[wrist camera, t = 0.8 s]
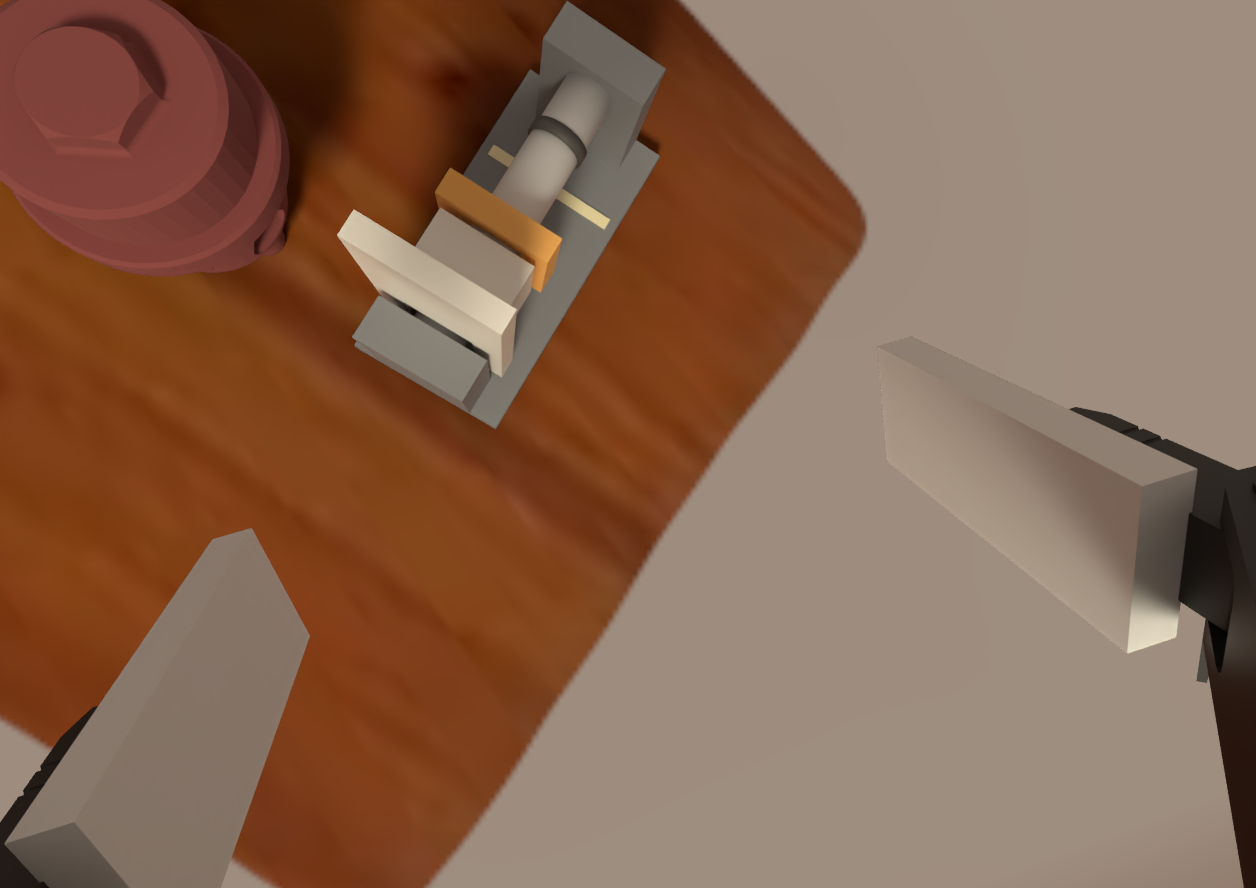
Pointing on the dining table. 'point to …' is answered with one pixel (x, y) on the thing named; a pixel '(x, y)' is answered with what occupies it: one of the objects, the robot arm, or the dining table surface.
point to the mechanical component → (139, 137)
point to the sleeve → (447, 279)
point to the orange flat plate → (500, 223)
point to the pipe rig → (540, 204)
